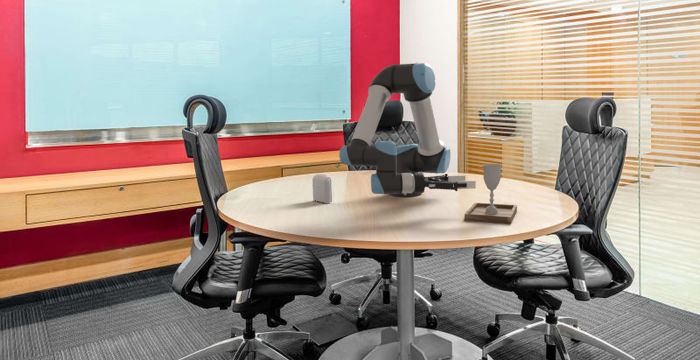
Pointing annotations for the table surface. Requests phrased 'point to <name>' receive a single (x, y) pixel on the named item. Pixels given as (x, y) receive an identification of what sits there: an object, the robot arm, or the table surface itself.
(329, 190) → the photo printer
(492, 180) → the chalice
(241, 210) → the table surface
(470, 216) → the tray
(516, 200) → the table surface
